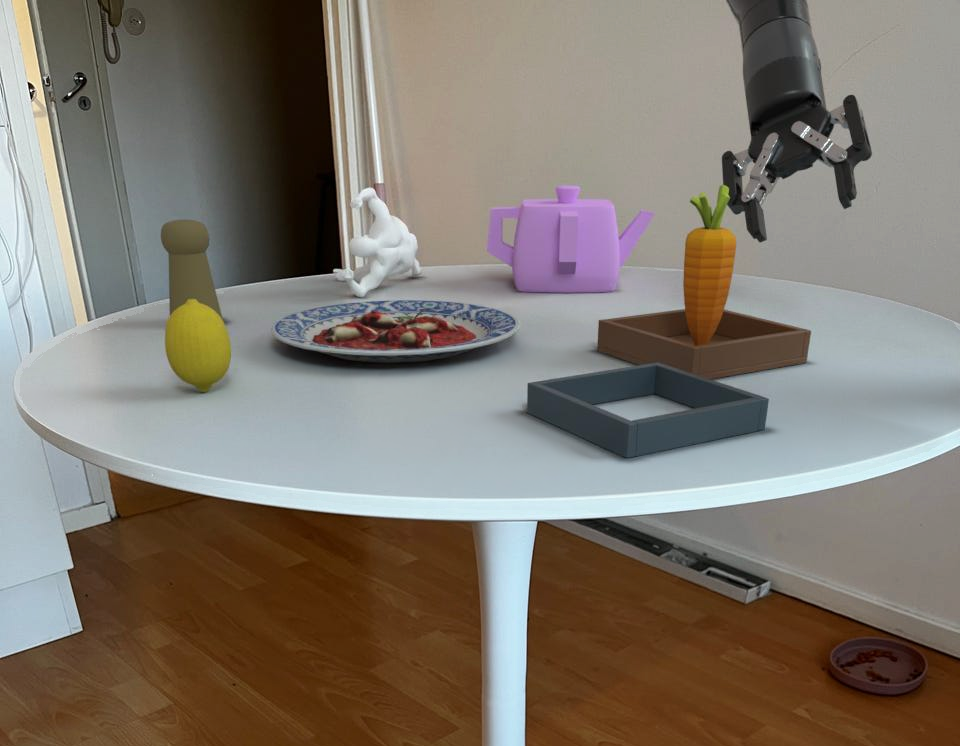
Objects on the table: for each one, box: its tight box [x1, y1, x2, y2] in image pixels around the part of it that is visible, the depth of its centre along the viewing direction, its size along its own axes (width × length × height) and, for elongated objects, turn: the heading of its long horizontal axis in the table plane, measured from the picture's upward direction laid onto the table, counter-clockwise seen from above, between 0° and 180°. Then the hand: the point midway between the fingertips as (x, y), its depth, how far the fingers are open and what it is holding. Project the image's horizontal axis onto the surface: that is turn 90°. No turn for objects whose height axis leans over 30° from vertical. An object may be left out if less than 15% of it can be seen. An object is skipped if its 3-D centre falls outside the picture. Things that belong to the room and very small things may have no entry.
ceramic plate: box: [270, 299, 521, 364], centre depth 105 cm, size 26×26×3 cm
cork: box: [160, 218, 224, 321], centre depth 113 cm, size 6×6×11 cm
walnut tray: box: [596, 308, 812, 380], centre depth 100 cm, size 15×15×3 cm
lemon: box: [164, 299, 232, 393], centre depth 88 cm, size 6×6×8 cm
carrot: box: [682, 184, 737, 346], centre depth 97 cm, size 5×5×15 cm
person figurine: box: [332, 187, 423, 298], centre depth 133 cm, size 13×13×18 cm
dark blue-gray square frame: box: [526, 362, 770, 459], centre depth 81 cm, size 14×14×2 cm
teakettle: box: [486, 185, 655, 294], centre depth 134 cm, size 17×17×12 cm
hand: (802, 221), depth 100 cm, fingers open, 8 cm apart
